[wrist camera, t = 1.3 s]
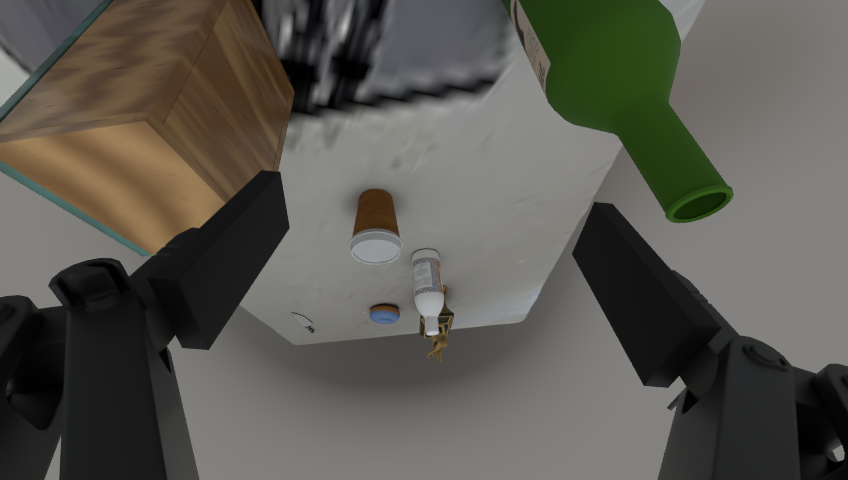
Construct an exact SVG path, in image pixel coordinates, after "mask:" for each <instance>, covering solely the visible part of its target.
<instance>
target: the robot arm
mask: <svg viewBox="0 0 848 480" xmlns="http://www.w3.org/2000/svg"><path fill="white" fill-rule="evenodd" d="M289 228H290V227H289V221H288V215H287V209H286V203H285V197H284V191H283V185H282V179H281V174H280V172H276V171H266V170H261V171H260V172H259V173H258V174H257V175H256V176H255V177H253V178H252V179H251V180H250V181H249V182H248V183H247V184H246V185H245V186H244V187H243V188H242V189H241V190H240V191H238V192H237V193H236V194H235V195H234V196H233V197H232V198H231V199H230V200H229V201H228V202H227V203H226V204H225V205H223V206H222V207H221V208H220V209H219V210H218V211H217V212H216V213H215V214H214V215H213V216H212V217H211V218H210V219H208V220H207V221H206V222H205V223H204V224H203V225H202V226H201V227H200V228H194V227H192V228H190V229H188V230H186V231H184V232H182V233H180V234H178V235H176V236H175V237H174V238H172V239H171V240H170V241H169V242H168V243H167V244H166V245H165V247H162V248H161V249H160V250H159V251H158V252H157V253H156V255H153V256H152V257H151V258H150V259H149V260H147V261H146V262H145V263H144V264H143V265H142V266H141V267H140V268H138V269H137V270H136V271H135V272H134V273H133V274H132V275H131V276H128V275H127V273H126V271H125V269H124V267H123V266H122V264H121V263H120V261H118V260H115V259H112V258H98V259H92V260H87V261H84V262H81V263H78V264H75V265H72V266H70V267H68V268H66V269H65V270H62V271H61V272H59V273H58V274H57V275H56V276H54V277H53V278H52V279H51V281H50V283H49V285H48V286H49V287H50V289H51V290H52V291H53V293H54V294H55V295H56V297H57V298H58V299H59V301H60V302H61V303H62V305H63V306H58V307H50V308H42V309H38V308H37V307H36V306H35V305H34V303H33V302H32V301H31V300H30V299H29V298H28V297H25V296H20V295H16V296H5V297H0V480H44V479H45V476H46V474H47V471H48V468H49V466H50V463H51V460H52V457H53V455H54V452H55V450H56V447H57V444H58V442H59V439H60V436H61V455H60V479H59V480H199V476H198V471H197V467H196V463H195V459H194V454H193V450H192V445H191V440H190V436H189V432H188V427H187V424H186V418H185V414H184V410H183V406H182V401H181V396H180V392H179V388H178V384H177V379H176V375H175V370H174V366H173V362H172V357H171V353H170V351H169V349H168V347H167V345H168V344H169V342H170V341H171V340H172V339H173V337H174V336H175V335H176V337H177V339H178V340H179V342H180V344H181V346H182V348H190V349H202V350H209V349H210V347H211V346H212V344H213V343H214V341H215V339H216V338H217V337H218V335H219V334H220V332H221V331H222V329H223V327H224V326H225V325H226V323H227V322H228V320H229V319H230V317H231V316H232V314H233V312H234V311H235V309H236V308H237V306H238V305H239V303H240V302H241V300H242V299H243V297H244V296H245V294H246V293H247V291H248V290H249V288H250V287H251V285H252V284H253V282H254V281H255V279H256V278H257V276H258V275H259V273H260V272H261V270H262V269H263V267H264V266H265V264H266V263H267V261H268V260H269V258H270V257H271V255H272V254H273V252H274V251H275V249H276V248H277V246H278V245H279V243H280V242H281V240H282V239H283V237H284V236H285V234H286V233H287V231H288V230H289ZM572 255H573V257H574V258H575V260H576V262H577V264H578V266H579V268H580V270H581V271H582V273H583V275H584V277H585V279H586V281H587V282H588V284H589V286H590V288H591V290H592V292H593V293H594V295H595V297H596V299H597V301H598V303H599V304H600V306H601V308H602V310H603V312H604V314H605V315H606V317H607V319H608V321H609V322H610V324H611V326H612V328H613V330H614V332H615V334H616V336H617V337H618V339H619V341H620V343H621V345H622V347H623V348H624V350H625V352H626V354H627V356H628V358H629V359H630V361H631V363H632V365H633V367H634V368H635V370H636V372H637V374H638V376H639V378H640V379H641V381H642V383H643V385H644V386H654V387H665V388H668V387H669V386H670V385H671V384H672V383H673V382H674V381H675V380H676V378H678V376H680V377H681V379H682V380H683V382H684V383H685V385H686V388H685V389H684V390H683V391H682V392H681V393H680V394H679V395H678V396H677V397H676V398H675V399H674V400H673V401H672V402H671V403H670V405H669V406H668V407H667V408H668V409H670V410H672V409H673V408H674V407H675V406H677V408H676V412H675V415H674V419H673V423H672V427H671V431H670V434H669V438H668V442H667V446H666V450H665V453H664V457H663V462H662V465H661V469H660V472H659V476H658V480H848V366H844V365H840V364H829V365H827V366H826V367H825V368H823V369H822V370H821V371H819V372H818V373H817V374H816V373H813V372H809V371H806V370H803V369H800V368H797V367H793V366H791V364H790V363H789V362H788V361H787V360H786V359H785V357H784V356H783V355H781V354H780V353H779V352H777V351H776V350H775V349H773V348H772V347H770V346H769V345H767V344H765V343H763V342H761V341H759V340H756V339H754V338H751V337H746V336H740V335H739V334H738V333H737V332H736V331H735V330H734V329H733V328H732V327H731V326H730V325H729V323H728V322H727V321H726V320H725V319H724V318H723V317H722V316H721V315H720V313H719V312H718V311H717V310H716V309H715V308H714V307H713V306H712V305H711V304H709V303H708V300H707V299H706V298H705V297H704V296H703V295H702V294H700V292H699V291H698V290H697V288H696V287H695V286H694V285H693V284H692V283H691V282H690V281H689V280H688V279H686V278H685V277H683V276H682V275H680V274H679V273H678V272H676V271H674V270H671V269H670V268H669V267H668V266H667V265H666V264H665V263H664V262H663V260H662V259H661V258H660V257H659V256H658V255H657V254H656V252H655V251H654V250H653V249H652V248H651V247H650V246H649V245H648V244H647V242H646V241H645V240H644V239H643V238H642V237H641V236H640V235H639V233H638V232H637V231H636V230H635V229H634V228H633V227H632V225H631V224H630V223H629V222H628V221H627V220H626V219H625V218H624V217H623V215H622V214H621V213H620V212H619V211H618V210H617V209H616V207H615V206H614V205H613V204H609V203H599V202H594V204H593V206H592V209H591V211H590V214H589V216H588V218H587V220H586V223H585V225H584V227H583V230H582V232H581V234H580V237H579V239H578V241H577V244H576V246H575V248H574V250H573V253H572ZM841 445H842V446H843V449H844V452H845V457H844V460H842V461H839V462H838V461H837V459H836V458H835V455H834V453H833V451H832V450H834V449H835V448H837V447H839V446H841Z"/></svg>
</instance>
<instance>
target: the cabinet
mask: <svg viewBox="0 0 848 480" xmlns="http://www.w3.org/2000/svg"><path fill="white" fill-rule="evenodd" d="M294 94H295V91H294V89H293V87H292V85H291V83H290V81H289V79H288V77H287V75H286V72H285V70H284V68H283V66H282V64H281V62H280V60H279V58H278V56H277V54H276V52H275V50H274V48H273V45H272V43H271V41H270V39H269V37H268V35H267V33H266V31H265V29H264V27H263V25H262V23H261V21H260V18H259V16H258V14H257V12H256V10H255V8H254V6H253V4H252V2H251V0H114V1H113V2H112V3H111V4H110V5H109V6H108V7H107V8H106V9H105V10H104V11H103V12H102V14H101V15H100V16H99V17H98V18H97V19H96V20H95V21H94V22H93V23H92V24H91V25H90V27H89V28H88V29H87V30H86V31H85V32H84V33H83V34H82V35H81V36H80V37H79V38H78V40H77V41H76V42H75V43H74V44H73V45H72V46H71V47H70V48H69V49H68V50H67V51H66V53H65V54H64V55H63V56H62V57H61V58H60V59H59V60H58V61H57V62H56V63H55V64H54V66H53V67H52V68H51V69H50V70H49V71H48V72H47V73H46V74H45V75H44V76H43V77H42V79H41V80H40V81H39V82H38V83H37V84H36V85H35V86H34V87H33V88H32V89H31V90H30V92H29V93H28V94H27V95H26V96H25V97H24V98H23V99H22V100H21V101H20V102H19V103H18V105H17V106H16V107H15V108H14V109H13V110H12V111H11V112H10V113H9V114H8V115H7V116H6V118H5V119H4V120H3V121H2V122H1V123H0V161H2V162H4V163H5V164H7V165H8V166H10V167H12V168H13V169H15V170H16V171H18V172H20V173H21V174H23V175H24V176H26V177H28V178H29V179H31V180H32V181H34V182H36V183H37V184H39V185H41V186H42V187H44V188H45V189H47V190H49V191H50V192H52V193H53V194H55V195H57V196H58V197H60V198H61V199H63V200H65V201H66V202H68V203H69V204H71V205H73V206H74V207H76V208H78V209H79V210H81V211H82V212H84V213H86V214H87V215H89V216H90V217H92V218H94V219H95V220H97V221H98V222H100V223H102V224H103V225H105V226H106V227H108V228H110V229H111V230H113V231H115V232H116V233H118V234H119V235H121V236H123V237H124V238H126V239H127V240H129V241H131V242H132V243H134V244H135V245H137V246H139V247H140V248H142V249H143V250H145V251H147V252H148V253H150V254H151V255H156V253H157V252H158V251H159V250H160V249H161V248H162V247H165V245H166V244H167V243H168V242H169V241H170V240H171V239H172V238H174V237H175V236H176V235H178V234H180V233H182V232H184V231H186V230H188V229H190V228H192V227H194V228H200V227H201V226H202V225H203V224H204V223H205V222H206V221H207V220H208V219H210V218H211V217H212V216H213V215H214V214H215V213H216V212H217V211H218V210H219V209H220V208H221V207H222V206H223V205H225V204H226V203H227V202H228V201H229V200H230V199H231V198H232V197H233V196H234V195H235V194H236V193H237V192H238V191H240V190H241V189H242V188H243V187H244V186H245V185H246V184H247V183H248V182H249V181H250V180H251V179H252V178H253V177H255V176H256V175H257V174H258V173H259V172H260V171H261V170H266V171H276V172H278V169H279V164H280V160H281V155H282V150H283V146H284V141H285V136H286V131H287V127H288V122H289V117H290V112H291V108H292V103H293V98H294Z"/></svg>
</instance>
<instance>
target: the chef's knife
mask: <svg viewBox="0 0 848 480" xmlns="http://www.w3.org/2000/svg"><path fill="white" fill-rule="evenodd" d="M291 314H292V315H293V316H294V317H295V318H296V319H297V320H298V321H299V322H300V323H302V324H303V325H304V326H305V327H306V328H307V329H308V330H309V331H310V332H311V333H313V332H314V330H312V329H311V328H310V327H309V326H310V325H313V324H312V323H311V322H310V321H309V320H308V319H306V318H305V317H303V316H300V315H298V314H293V313H291Z"/></svg>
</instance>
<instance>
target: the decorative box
mask: <svg viewBox="0 0 848 480" xmlns="http://www.w3.org/2000/svg"><path fill="white" fill-rule="evenodd" d="M443 292H444V304H443V308H442V310H441V312H440V314H439V316H438V328H439V334H437V335H427V334H426V328H425V318H424V317H423V316H422V315H421V319H420V326H419V327H420V331H419V333H420V335H421V336H422V337H424V338H432V340H433V348H434V350H433V351H432V352H430V353H429V354H427V355H428V358H429V355H430V354H431V353H433V357H434V356H435V354H436V353H437V355H436V356H437V358H438V360H439V361H440V362H441V363H443V362H442V360H441V347H446V346H447V344H448V342H447V339H446V337H445V336H447V335H448V333H449V331H450V328H451V325H452V321H453V318H454V313H453V312H451V311H450V310H449V309H448V308H447V307H446V304H445V296H446V292H447V287H445V286H443Z"/></svg>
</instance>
